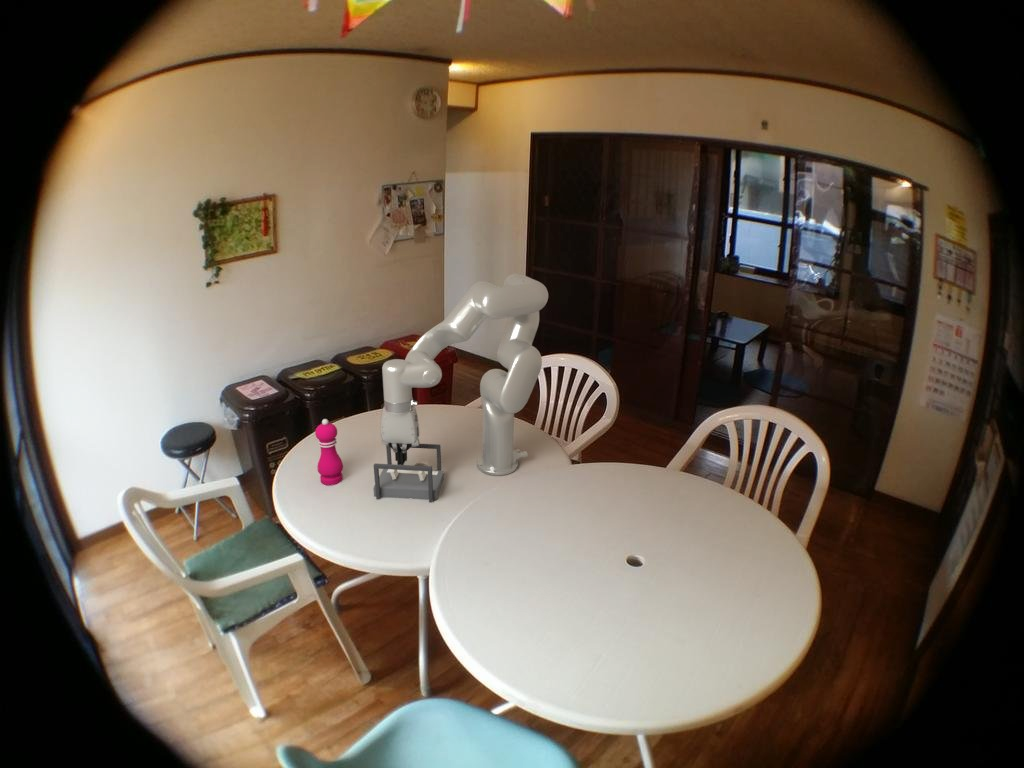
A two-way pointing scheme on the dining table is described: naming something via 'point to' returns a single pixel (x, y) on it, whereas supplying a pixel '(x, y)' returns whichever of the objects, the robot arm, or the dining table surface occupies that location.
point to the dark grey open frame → (408, 468)
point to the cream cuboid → (422, 475)
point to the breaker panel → (409, 484)
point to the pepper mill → (328, 454)
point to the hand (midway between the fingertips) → (401, 462)
